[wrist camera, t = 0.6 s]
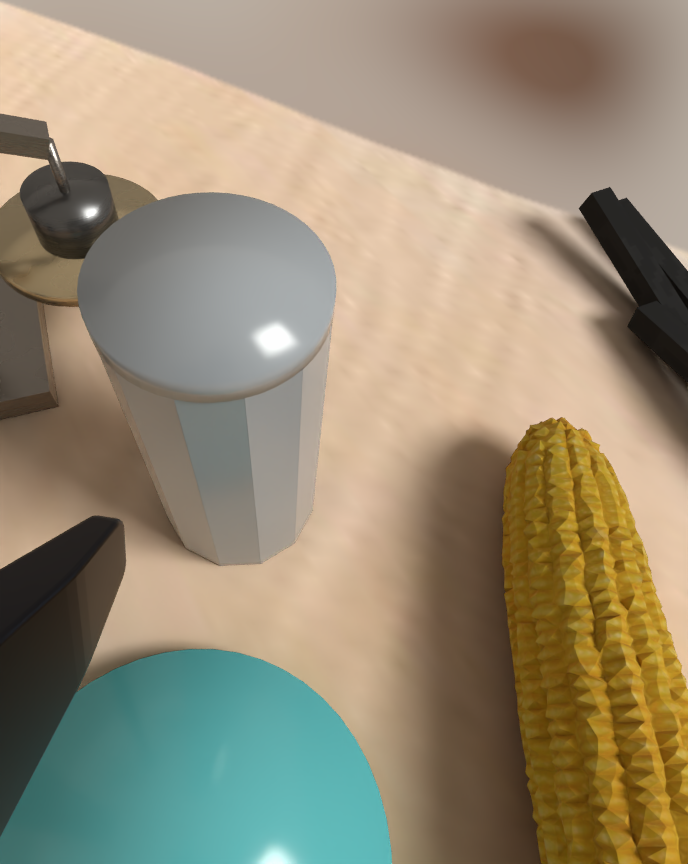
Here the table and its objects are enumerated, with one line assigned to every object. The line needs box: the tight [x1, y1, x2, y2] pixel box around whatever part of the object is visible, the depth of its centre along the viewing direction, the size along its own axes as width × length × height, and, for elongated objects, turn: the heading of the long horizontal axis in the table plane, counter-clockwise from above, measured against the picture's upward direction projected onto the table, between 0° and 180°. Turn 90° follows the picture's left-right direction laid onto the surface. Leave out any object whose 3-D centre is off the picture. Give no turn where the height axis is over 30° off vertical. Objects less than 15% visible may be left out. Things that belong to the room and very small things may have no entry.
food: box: [502, 417, 688, 864], centre depth 21 cm, size 21×6×6 cm, turn 2°
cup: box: [77, 192, 336, 566], centre depth 21 cm, size 6×6×13 cm
